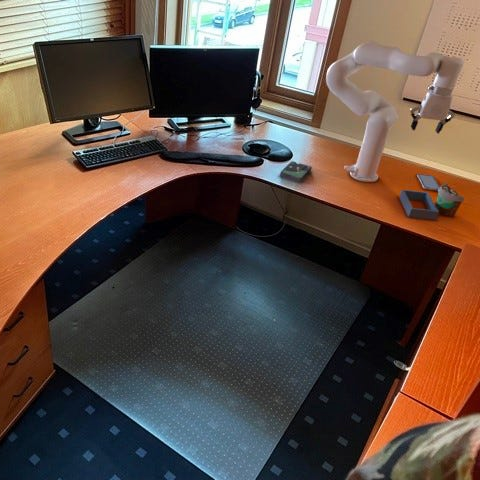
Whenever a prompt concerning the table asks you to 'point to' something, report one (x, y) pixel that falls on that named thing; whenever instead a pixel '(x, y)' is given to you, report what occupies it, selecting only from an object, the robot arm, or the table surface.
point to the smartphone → (428, 182)
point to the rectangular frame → (415, 212)
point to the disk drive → (295, 171)
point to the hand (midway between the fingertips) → (424, 130)
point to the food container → (448, 201)
